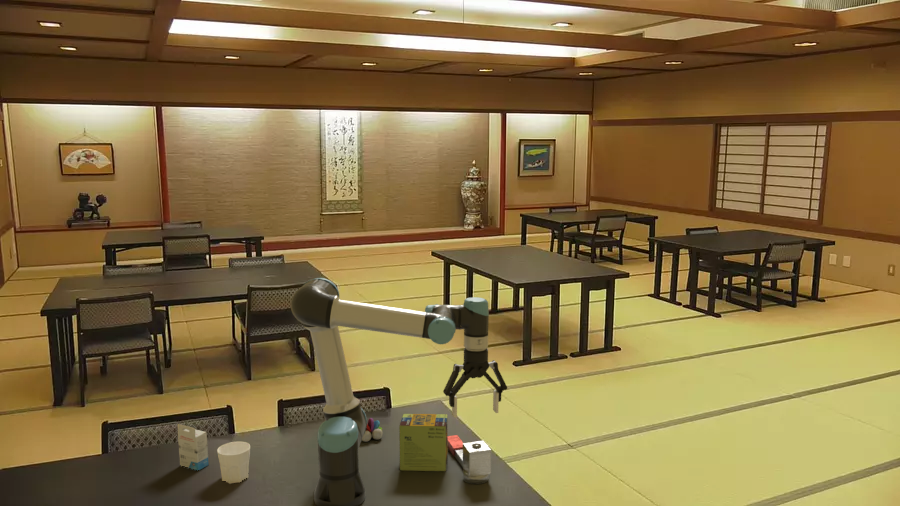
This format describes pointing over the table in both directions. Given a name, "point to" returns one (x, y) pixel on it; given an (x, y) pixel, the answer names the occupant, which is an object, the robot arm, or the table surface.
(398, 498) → the table surface
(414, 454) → the protein box
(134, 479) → the table surface
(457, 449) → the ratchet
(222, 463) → the cup
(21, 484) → the table surface
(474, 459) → the metal cube with knob
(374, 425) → the rainbow finned toy
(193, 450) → the ink box
